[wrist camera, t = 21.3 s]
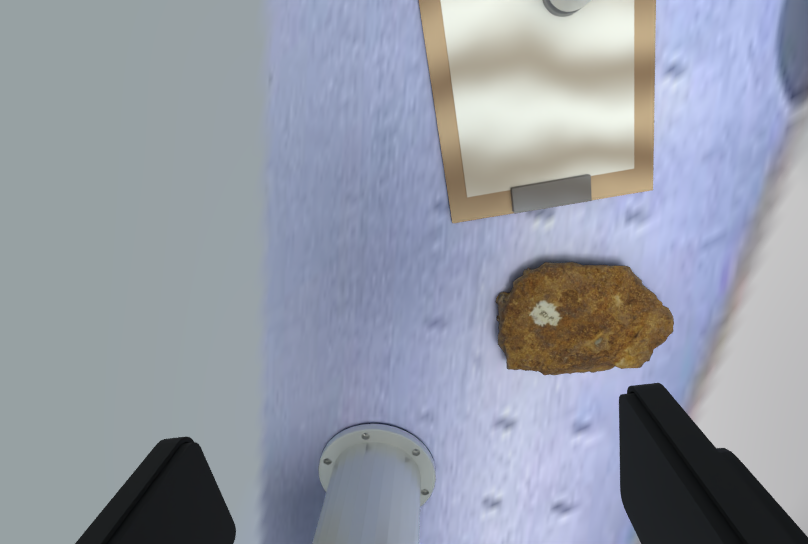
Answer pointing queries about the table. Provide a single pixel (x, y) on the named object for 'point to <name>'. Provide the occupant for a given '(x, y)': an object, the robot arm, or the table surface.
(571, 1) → the marker
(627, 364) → the decorative rock
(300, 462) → the table surface
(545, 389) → the table surface
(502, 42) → the clipboard
